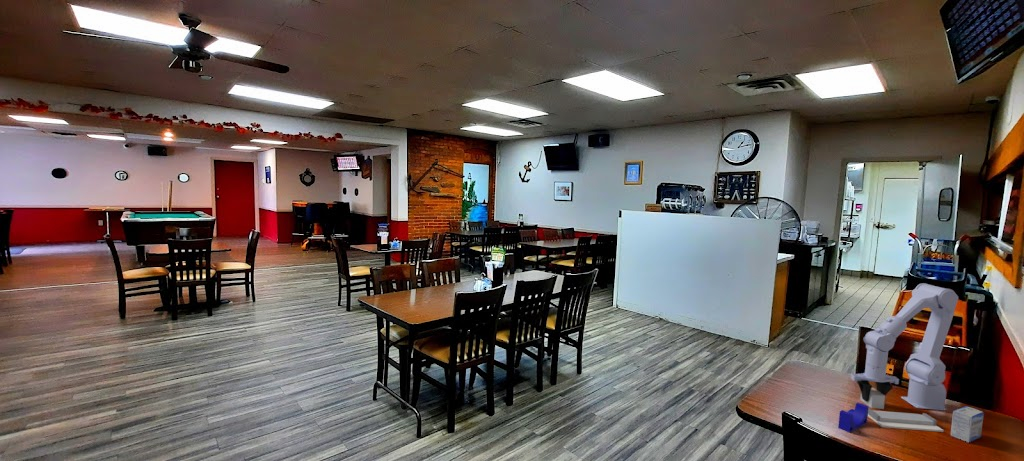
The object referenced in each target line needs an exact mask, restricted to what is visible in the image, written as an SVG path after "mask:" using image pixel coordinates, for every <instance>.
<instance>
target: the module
mask: <svg viewBox="0 0 1024 461" xmlns="http://www.w3.org/2000/svg"><path fill="white" fill-rule="evenodd" d="M885 399H886V396H885V395H883V394H882V393H881V392H879V391H877V388H874V387H872V388H871V391H870V394H869V400H868V401H865V400H863V399H862V394H861V393H860V398H859V400H860V401H861V402H863V403H864V405H866V406H869V408H870V409H877V410H884V409H885V404H886V403H885Z"/></svg>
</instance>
